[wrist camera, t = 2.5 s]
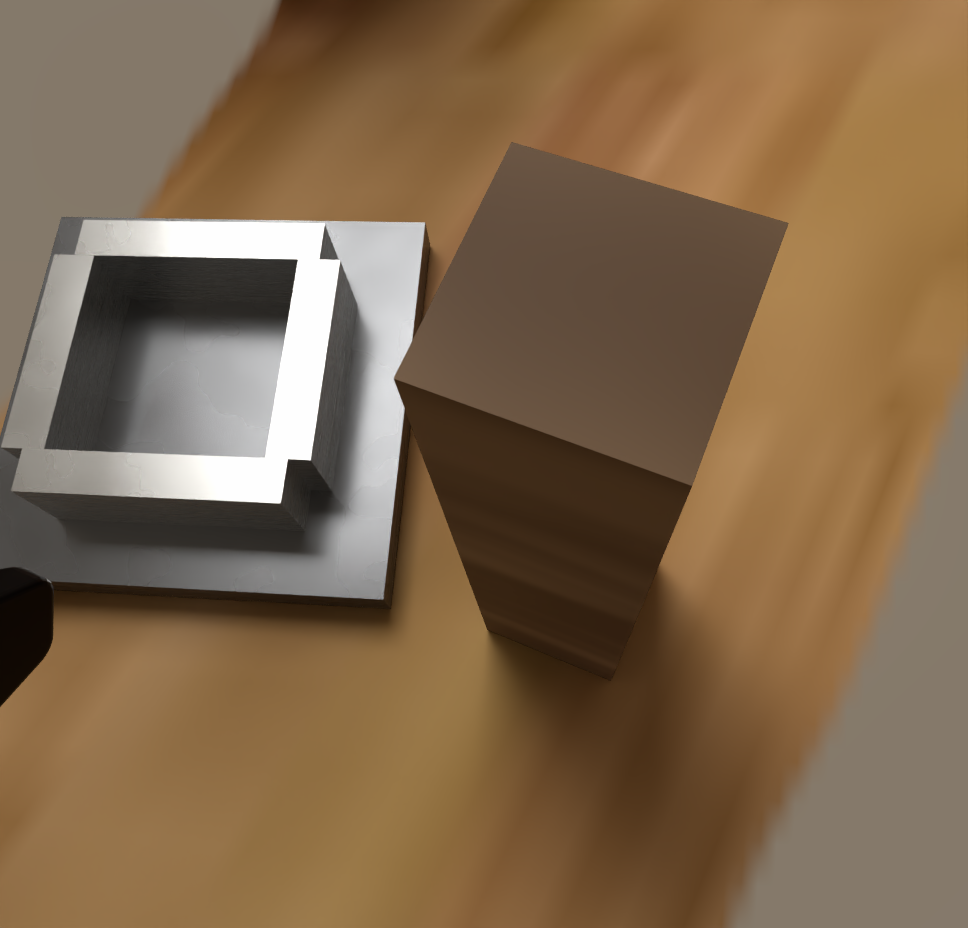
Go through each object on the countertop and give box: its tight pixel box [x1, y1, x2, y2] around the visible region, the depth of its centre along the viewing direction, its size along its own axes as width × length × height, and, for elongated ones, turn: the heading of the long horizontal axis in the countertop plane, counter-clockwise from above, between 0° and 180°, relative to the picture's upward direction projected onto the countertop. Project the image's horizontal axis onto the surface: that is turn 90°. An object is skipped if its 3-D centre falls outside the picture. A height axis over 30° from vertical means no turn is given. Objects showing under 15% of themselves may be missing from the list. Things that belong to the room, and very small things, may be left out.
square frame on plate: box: [0, 217, 430, 609], centre depth 22 cm, size 10×10×3 cm
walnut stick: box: [393, 142, 788, 680], centre depth 15 cm, size 3×3×13 cm
